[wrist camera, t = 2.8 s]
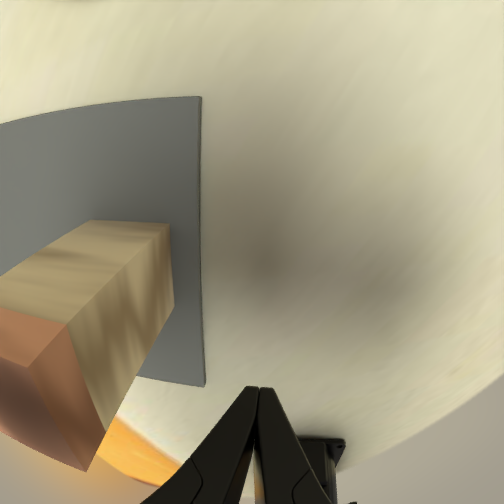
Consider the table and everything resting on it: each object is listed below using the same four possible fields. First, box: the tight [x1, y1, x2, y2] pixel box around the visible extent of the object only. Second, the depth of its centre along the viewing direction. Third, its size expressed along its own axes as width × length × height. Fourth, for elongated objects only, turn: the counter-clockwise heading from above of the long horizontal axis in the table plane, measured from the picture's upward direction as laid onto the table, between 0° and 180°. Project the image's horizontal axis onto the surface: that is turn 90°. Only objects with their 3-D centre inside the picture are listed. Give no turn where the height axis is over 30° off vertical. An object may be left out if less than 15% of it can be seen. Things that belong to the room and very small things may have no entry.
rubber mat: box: [0, 96, 206, 387], centre depth 18 cm, size 18×18×1 cm
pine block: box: [0, 220, 175, 472], centre depth 12 cm, size 5×5×12 cm
